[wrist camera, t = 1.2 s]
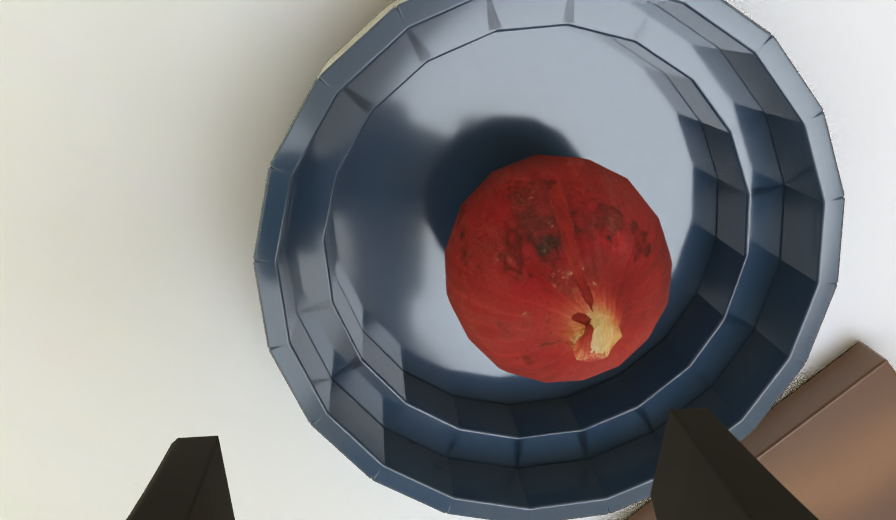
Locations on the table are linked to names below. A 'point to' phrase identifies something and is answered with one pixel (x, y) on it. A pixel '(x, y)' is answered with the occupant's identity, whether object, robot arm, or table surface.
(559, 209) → the onion
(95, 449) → the table surface
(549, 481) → the bowl
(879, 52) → the table surface
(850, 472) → the board
